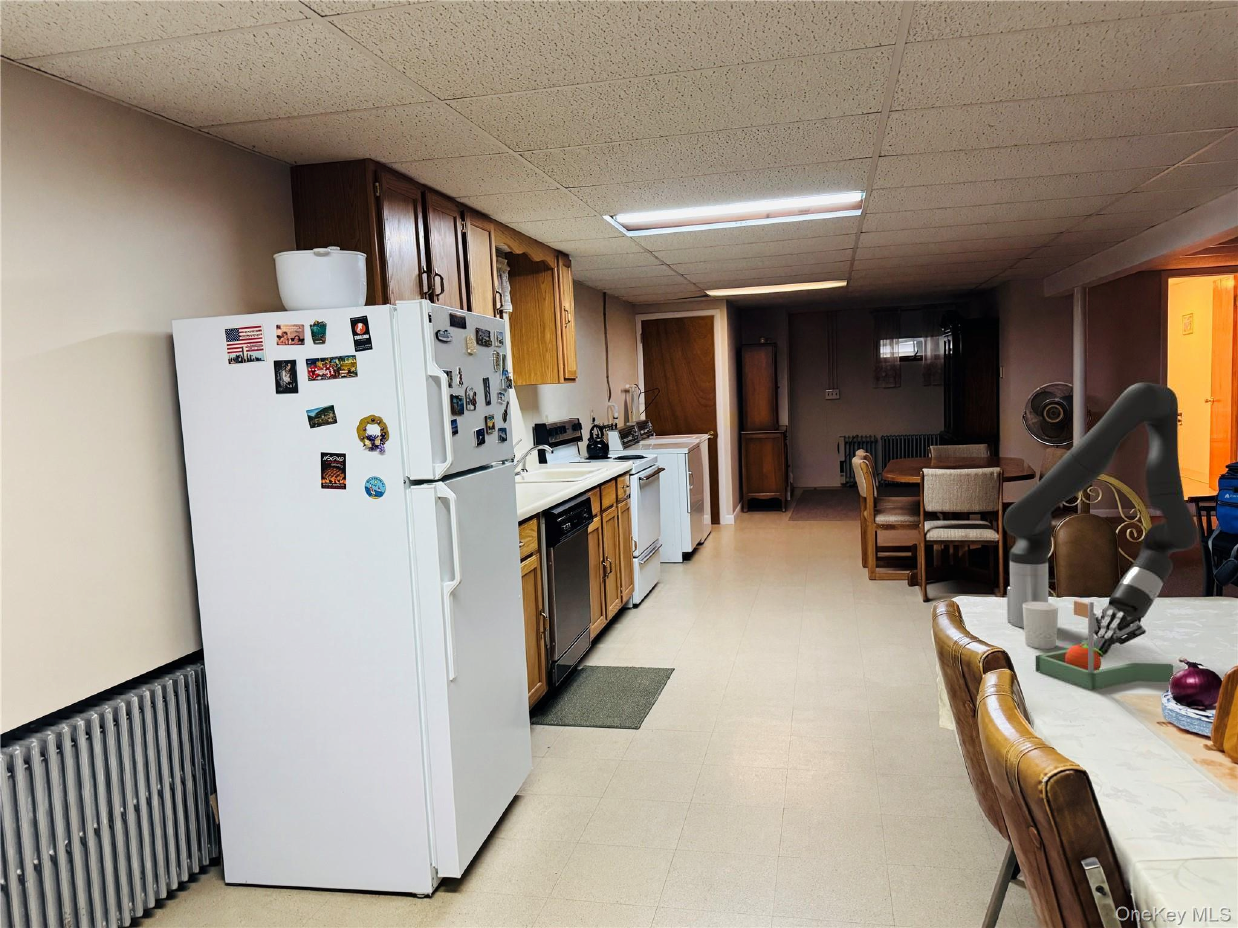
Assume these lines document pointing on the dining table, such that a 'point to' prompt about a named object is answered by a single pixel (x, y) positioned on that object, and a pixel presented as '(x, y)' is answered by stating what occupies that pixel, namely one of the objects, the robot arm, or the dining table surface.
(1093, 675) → the putting stall
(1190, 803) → the dining table surface
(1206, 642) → the dining table surface
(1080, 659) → the clementine
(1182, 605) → the dining table surface
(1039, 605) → the white cup
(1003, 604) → the dining table surface
